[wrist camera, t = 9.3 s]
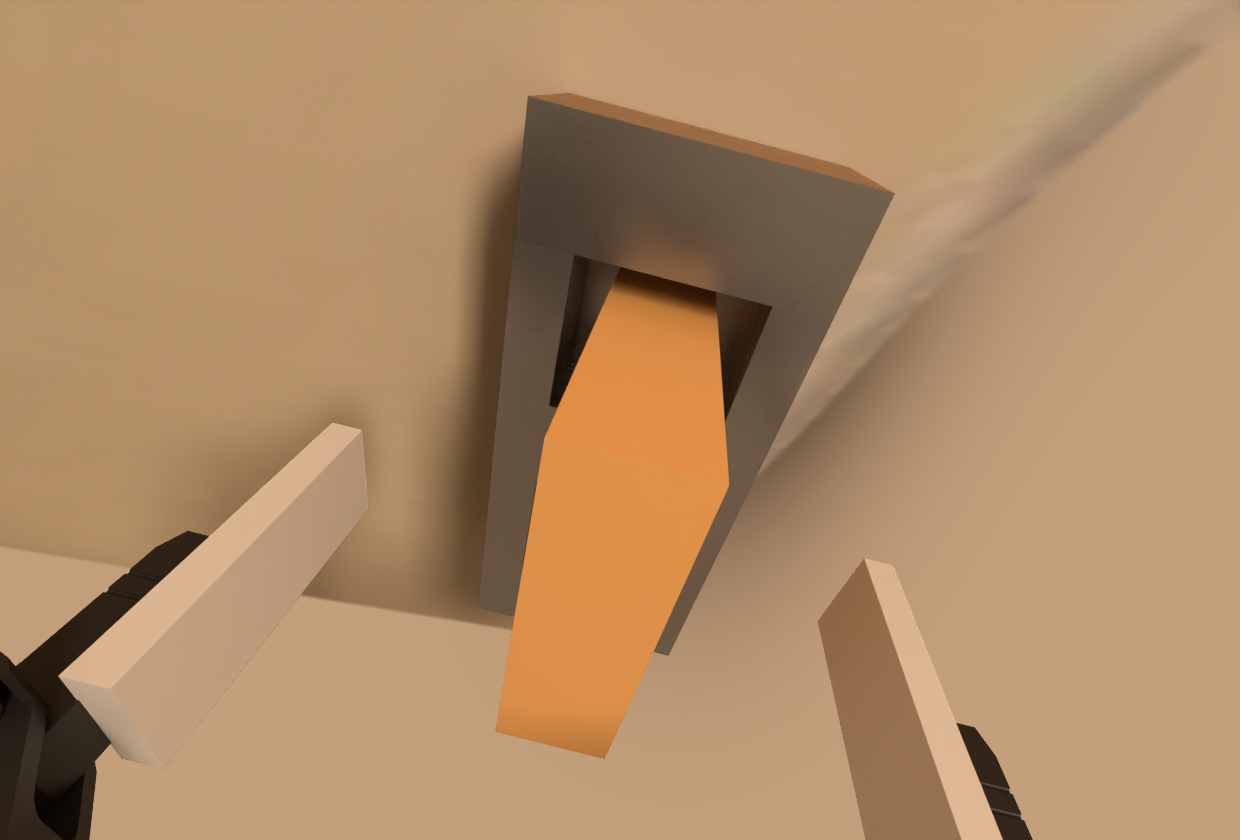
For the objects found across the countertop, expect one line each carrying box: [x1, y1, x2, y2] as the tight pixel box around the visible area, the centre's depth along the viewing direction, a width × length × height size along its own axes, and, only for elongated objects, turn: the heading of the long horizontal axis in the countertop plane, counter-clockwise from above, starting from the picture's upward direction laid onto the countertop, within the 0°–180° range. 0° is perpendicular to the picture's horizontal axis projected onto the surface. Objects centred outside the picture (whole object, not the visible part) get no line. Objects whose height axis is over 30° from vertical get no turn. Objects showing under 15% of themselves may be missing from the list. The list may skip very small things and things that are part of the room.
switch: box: [478, 93, 895, 655], centre depth 17 cm, size 8×18×4 cm, turn 168°
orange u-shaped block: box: [496, 267, 729, 759], centre depth 15 cm, size 3×10×10 cm, turn 168°
